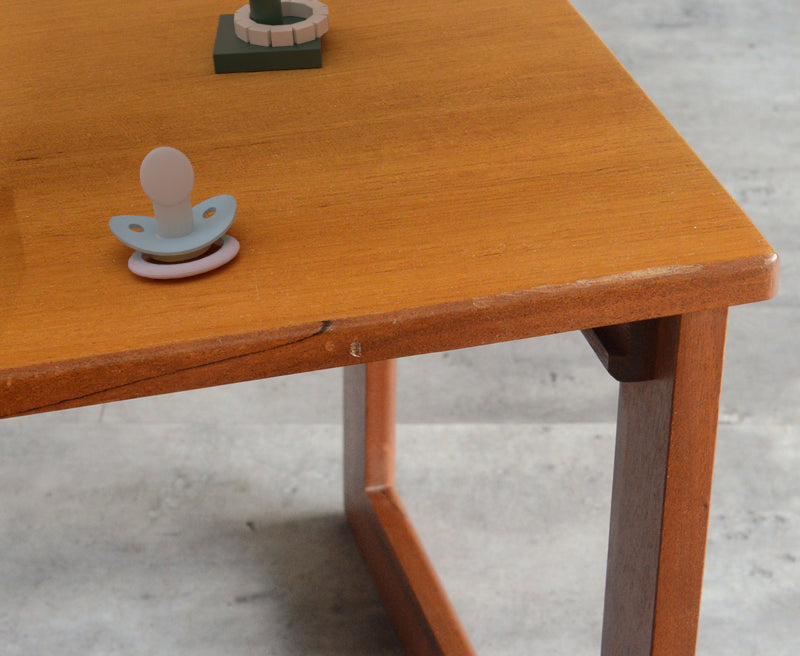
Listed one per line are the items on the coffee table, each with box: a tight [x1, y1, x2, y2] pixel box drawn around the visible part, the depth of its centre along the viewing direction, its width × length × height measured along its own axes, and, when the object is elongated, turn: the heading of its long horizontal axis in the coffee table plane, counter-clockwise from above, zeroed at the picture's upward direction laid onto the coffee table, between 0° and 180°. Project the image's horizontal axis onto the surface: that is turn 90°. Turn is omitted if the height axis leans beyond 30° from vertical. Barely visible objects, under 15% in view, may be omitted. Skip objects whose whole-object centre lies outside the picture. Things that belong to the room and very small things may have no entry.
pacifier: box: [108, 146, 241, 280], centre depth 67 cm, size 7×6×6 cm
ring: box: [233, 0, 331, 47], centre depth 91 cm, size 7×7×1 cm
